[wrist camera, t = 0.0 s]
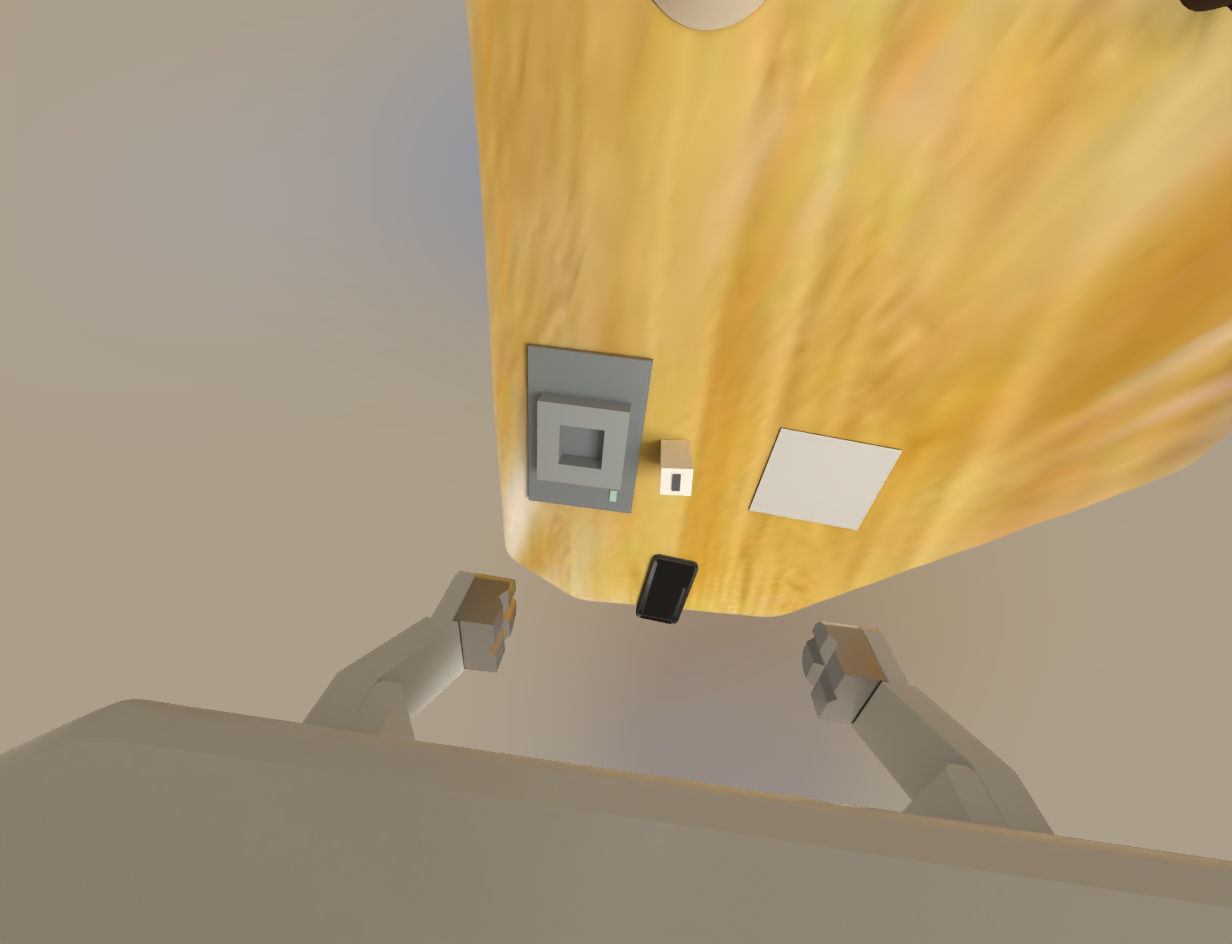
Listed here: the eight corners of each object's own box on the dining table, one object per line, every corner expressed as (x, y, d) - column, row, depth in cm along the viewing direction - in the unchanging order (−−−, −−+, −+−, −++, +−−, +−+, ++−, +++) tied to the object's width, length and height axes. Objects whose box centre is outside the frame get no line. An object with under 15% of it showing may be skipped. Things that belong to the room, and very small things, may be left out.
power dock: (529, 343, 57) (521, 352, 54) (652, 359, 57) (652, 369, 53) (530, 496, 70) (523, 511, 66) (631, 509, 69) (629, 525, 66)
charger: (661, 439, 63) (661, 469, 55) (689, 440, 62) (693, 470, 55) (659, 463, 65) (659, 495, 58) (687, 465, 64) (690, 497, 57)
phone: (634, 616, 81) (653, 556, 73) (634, 611, 82) (653, 551, 74) (676, 625, 81) (700, 565, 73) (676, 620, 82) (700, 561, 74)
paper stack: (830, 572, 73) (831, 575, 72) (680, 544, 72) (680, 547, 72) (900, 448, 60) (902, 450, 60) (720, 415, 60) (720, 417, 60)
